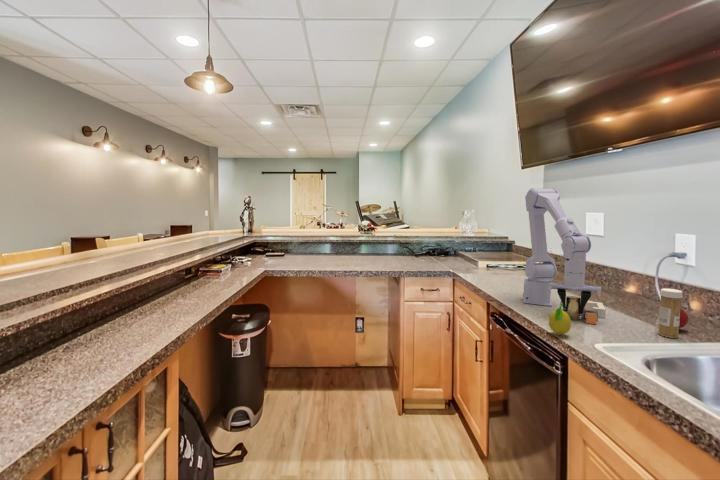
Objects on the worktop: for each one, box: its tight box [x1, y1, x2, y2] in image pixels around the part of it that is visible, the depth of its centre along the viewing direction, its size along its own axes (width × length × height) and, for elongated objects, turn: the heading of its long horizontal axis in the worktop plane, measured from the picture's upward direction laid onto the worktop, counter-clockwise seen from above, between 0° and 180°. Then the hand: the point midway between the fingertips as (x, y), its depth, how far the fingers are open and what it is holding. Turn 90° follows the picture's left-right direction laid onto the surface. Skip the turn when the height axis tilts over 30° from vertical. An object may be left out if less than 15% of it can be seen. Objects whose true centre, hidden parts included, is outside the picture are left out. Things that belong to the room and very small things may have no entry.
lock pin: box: [585, 312, 598, 325], centre depth 108 cm, size 3×7×3 cm, turn 150°
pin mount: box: [581, 309, 599, 321], centre depth 110 cm, size 4×2×3 cm, turn 60°
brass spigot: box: [566, 295, 581, 321], centre depth 110 cm, size 4×4×7 cm
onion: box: [679, 307, 690, 329], centre depth 99 cm, size 6×6×8 cm
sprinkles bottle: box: [657, 287, 683, 339], centre depth 94 cm, size 5×5×13 cm
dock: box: [580, 300, 606, 319], centre depth 116 cm, size 9×9×3 cm
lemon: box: [548, 301, 572, 336], centre depth 96 cm, size 7×6×10 cm
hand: (572, 312), depth 110 cm, fingers closed on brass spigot, 4 cm apart
